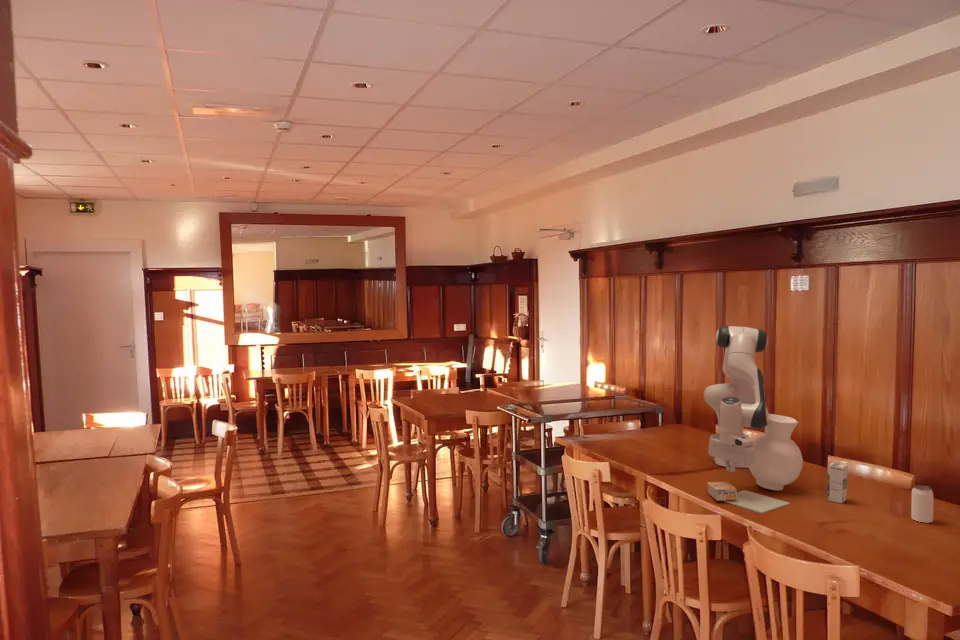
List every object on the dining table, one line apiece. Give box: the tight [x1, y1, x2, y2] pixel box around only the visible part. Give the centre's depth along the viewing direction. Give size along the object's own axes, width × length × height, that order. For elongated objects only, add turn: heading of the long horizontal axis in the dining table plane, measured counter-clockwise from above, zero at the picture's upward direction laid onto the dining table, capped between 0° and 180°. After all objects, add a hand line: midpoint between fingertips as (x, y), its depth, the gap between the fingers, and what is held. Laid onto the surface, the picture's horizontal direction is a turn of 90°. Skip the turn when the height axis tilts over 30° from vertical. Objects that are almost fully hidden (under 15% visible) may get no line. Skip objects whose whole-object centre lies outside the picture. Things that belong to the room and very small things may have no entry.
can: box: [910, 484, 934, 524], centre depth 233 cm, size 6×6×12 cm
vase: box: [748, 413, 804, 492], centre depth 272 cm, size 19×21×30 cm
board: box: [723, 489, 791, 514], centre depth 257 cm, size 18×20×1 cm
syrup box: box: [826, 462, 849, 504], centre depth 256 cm, size 6×6×14 cm
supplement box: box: [706, 480, 738, 502], centre depth 263 cm, size 8×5×13 cm
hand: (731, 471), depth 265 cm, fingers closed
